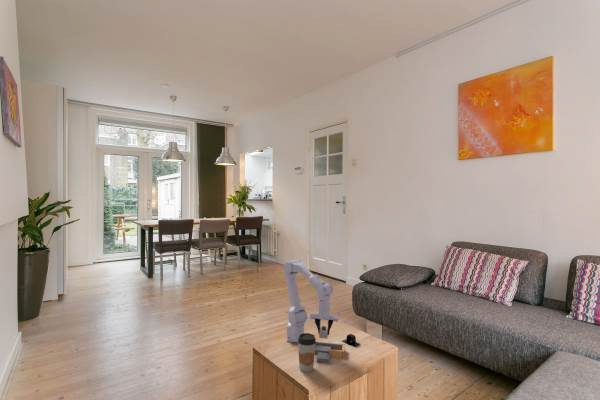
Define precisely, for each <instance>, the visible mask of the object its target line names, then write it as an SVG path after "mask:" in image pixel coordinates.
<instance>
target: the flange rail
mask: <svg viewBox="0 0 600 400" xmlns="http://www.w3.org/2000/svg"><path fill="white" fill-rule="evenodd" d="M345 346H346V343H345V344H344V343H335V342H334V343H333V342H326V341H325V342H323V341H316V343H315V355H318V353H319V352H321V353H330V354H331V358H338V359H339V358H340V359H344V358H345V351H346V350H345Z"/></svg>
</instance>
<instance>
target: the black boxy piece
mask: <svg viewBox="0 0 600 400" xmlns="http://www.w3.org/2000/svg"><path fill="white" fill-rule="evenodd" d="M341 342H342V343H343V344H344V343H345V345H346V344H347V345H349V346H351V347H353V348H357V347H358V346H360V345H361V343H359V342H357V338H356V335H354V334H352V333H349V334H346V338H345V339H343V340H341Z"/></svg>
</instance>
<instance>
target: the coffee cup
mask: <svg viewBox="0 0 600 400" xmlns="http://www.w3.org/2000/svg"><path fill="white" fill-rule="evenodd" d="M316 342H317V340H316V336H315V335H314V334H312V333H309V332H304V333H303V334H300V335H299V338H298V365H299V366H298V367H299V370H300V372H303V373H310V372H312V371H313V369H314V362H315V355H316V354H315V343H316Z"/></svg>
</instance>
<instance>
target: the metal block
mask: <svg viewBox="0 0 600 400" xmlns="http://www.w3.org/2000/svg"><path fill="white" fill-rule="evenodd" d="M318 335H319V336H318V338H319V339H326V340H328V337H329V335H328V326H327V327H326V326H325V325H322V326H320V332H319V333H318Z"/></svg>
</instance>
